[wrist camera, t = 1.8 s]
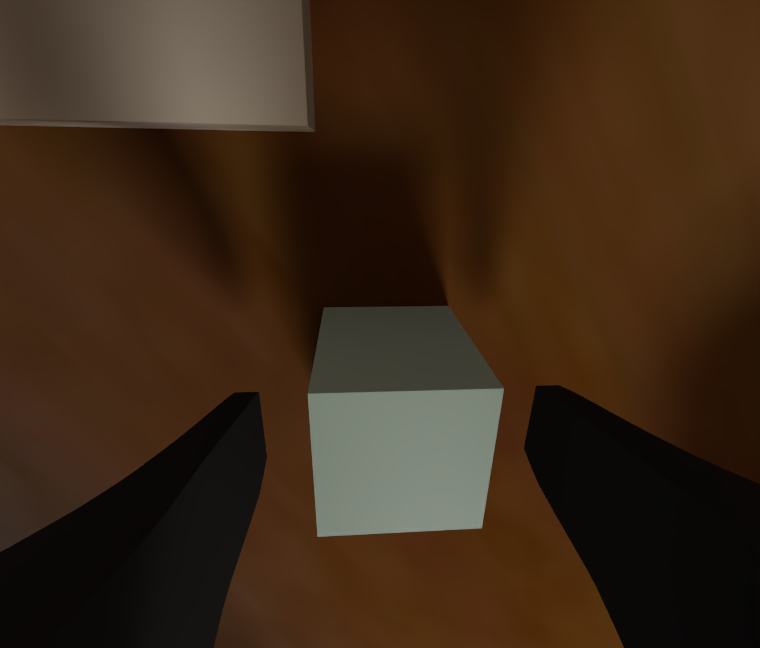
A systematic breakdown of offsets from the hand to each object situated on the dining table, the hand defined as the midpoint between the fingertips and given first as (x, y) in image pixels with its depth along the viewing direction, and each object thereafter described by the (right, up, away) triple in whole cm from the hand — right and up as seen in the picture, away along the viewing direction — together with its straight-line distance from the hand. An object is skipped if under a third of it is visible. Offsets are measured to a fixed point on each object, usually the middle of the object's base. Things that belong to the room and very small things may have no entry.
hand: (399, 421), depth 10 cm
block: (0, +1, +3) cm, 3 cm away
